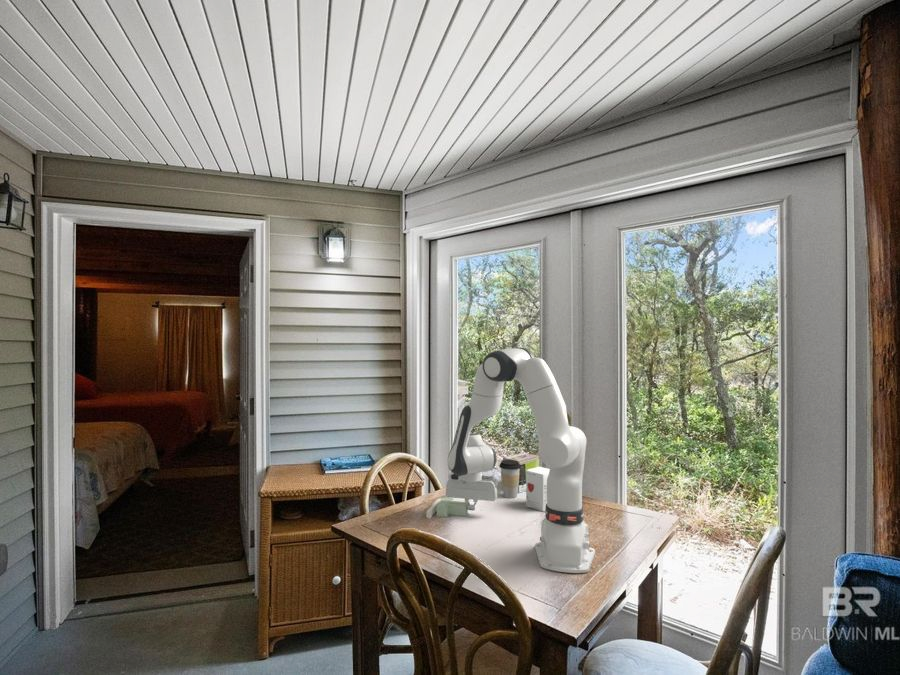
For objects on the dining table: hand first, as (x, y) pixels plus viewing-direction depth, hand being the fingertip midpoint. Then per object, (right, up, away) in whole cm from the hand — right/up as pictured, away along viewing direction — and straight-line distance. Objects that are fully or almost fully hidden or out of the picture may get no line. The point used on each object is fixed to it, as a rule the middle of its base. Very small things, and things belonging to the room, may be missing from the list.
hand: (471, 509), depth 182 cm
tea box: (+25, -3, +34) cm, 42 cm away
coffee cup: (+18, -2, +22) cm, 28 cm away
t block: (-7, -2, +2) cm, 7 cm away
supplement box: (+29, -2, +9) cm, 30 cm away
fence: (-10, -2, +2) cm, 10 cm away
